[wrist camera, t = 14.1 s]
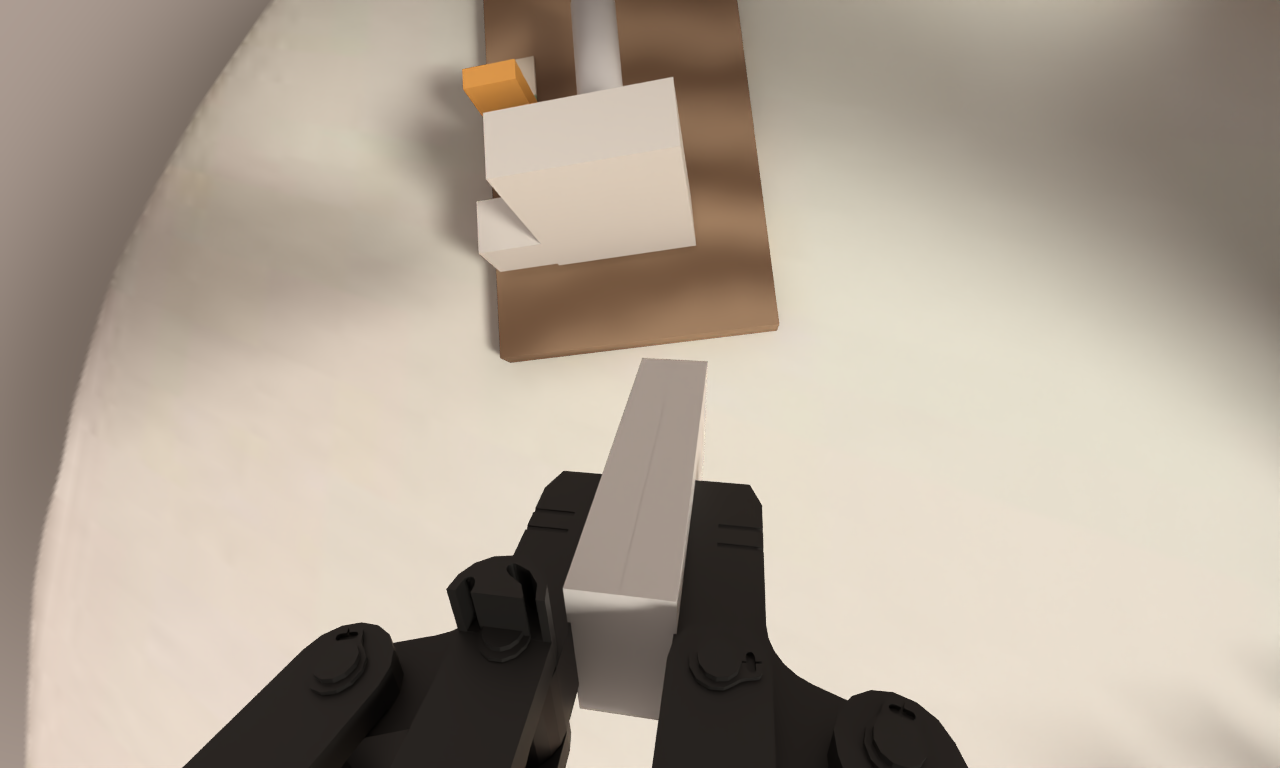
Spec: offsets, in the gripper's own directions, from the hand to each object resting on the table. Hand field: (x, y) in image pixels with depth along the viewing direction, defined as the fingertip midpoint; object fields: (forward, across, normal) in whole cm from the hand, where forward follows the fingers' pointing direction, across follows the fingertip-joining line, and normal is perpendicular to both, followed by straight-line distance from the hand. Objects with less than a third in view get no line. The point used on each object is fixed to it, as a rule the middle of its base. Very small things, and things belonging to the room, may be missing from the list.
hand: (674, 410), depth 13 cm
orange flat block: (+25, +12, -4) cm, 28 cm away
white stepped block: (+23, +8, -2) cm, 25 cm away
